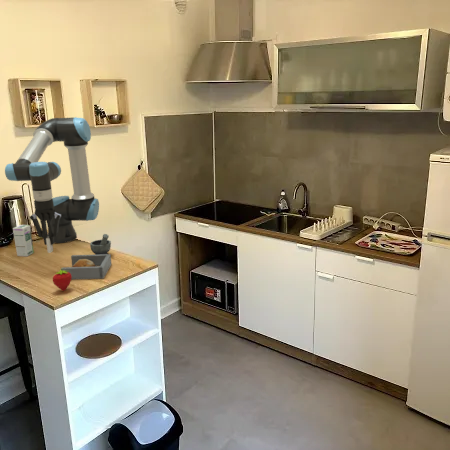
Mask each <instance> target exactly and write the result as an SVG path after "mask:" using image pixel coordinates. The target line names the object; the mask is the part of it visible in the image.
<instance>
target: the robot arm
mask: <svg viewBox="0 0 450 450" xmlns="http://www.w3.org/2000/svg"><path fill="white" fill-rule="evenodd" d="M32 135H33V137H32V138H31V140H30V141H29V143H28V144H27V146H26V147H25V149H24V150H23V152H22V153H21V154H20V156H19V158H18V159H17V160H16V161H15V163H13V162H12V163H8V164H6V166H5V168H4V174H5V178H6V179H7V180H8V181H12V182H13V181H14V182H24V181H26V182H27V181H28V182H29V181H30V183H31V189H32V196H33V203H34V209H35V210H34V213H33V214H30V216H29V219H30V220H31V221H32V224H33V226H34V229H35V230H36V233H37V236H38V237H40V238H42V239H43V242H44V245H45V246H46V249H47V253H48V254H51V253H52V252H53V251H54V246H53V245H54V244H63V243H64V244H65V243H68V242H69V243H70V242H72V241H75V240H76V239H77V238H78V235H77V232H76V230H75V228H74V225H73V221H79V222H80V221H85V222H88V221H94V220H96V219H97V217H98V215H99V212H100V211H99V210H100V202H99V198H96V197H95V193H92V190H91V183H90V175H89V167H88V160H87V152H86V148H87V146H88V144H89V142H90V141H91V139H92V138H91V137H92V133H91V127H90V124H89V122H88V121H87V120H86V119H85V118H84V117H77V116H75V117H53V118H50V119H47V120H46V121H44V122H42V123H41V124H39V126H37V127H36V128H35V129H34V132H33V134H32ZM55 142H63V146H64V147H65V149H67V153H68V161H69V166H70V167H69V168H70V174H71V183H72V188H73V189H72V190H73V194H72V195H71V198H70V196H69V195H61V196H60V195H59V196H55V197H53V190H52V183H51V182H52V181H54V180H57V179H58V178H59V177H60V175H61V174H62V168H61V165H60V164H58V163H57V162H55V161H48V162H46V161H40V159H41V157H42V156H43V154H44V153H45V151H46V149H47V148H48V147H49V146H51V145H53V143H55ZM38 219H39V220H40V222H39V220H38Z"/></svg>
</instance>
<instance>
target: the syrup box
mask: <svg viewBox="0 0 450 450" xmlns="http://www.w3.org/2000/svg"><path fill="white" fill-rule="evenodd" d="M31 230H32V229H31V226H30V225H29V224H18V225H17V226H15V227H12V231H13V239H14V245H15V251H16V255H17V257H29V256H30V255H32V254H35V250H34V243H33V238H32V231H31Z"/></svg>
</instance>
